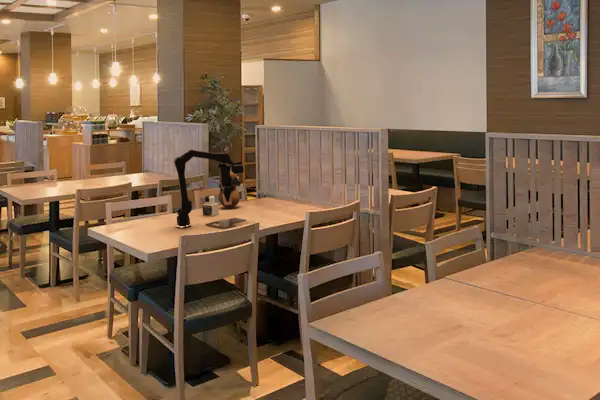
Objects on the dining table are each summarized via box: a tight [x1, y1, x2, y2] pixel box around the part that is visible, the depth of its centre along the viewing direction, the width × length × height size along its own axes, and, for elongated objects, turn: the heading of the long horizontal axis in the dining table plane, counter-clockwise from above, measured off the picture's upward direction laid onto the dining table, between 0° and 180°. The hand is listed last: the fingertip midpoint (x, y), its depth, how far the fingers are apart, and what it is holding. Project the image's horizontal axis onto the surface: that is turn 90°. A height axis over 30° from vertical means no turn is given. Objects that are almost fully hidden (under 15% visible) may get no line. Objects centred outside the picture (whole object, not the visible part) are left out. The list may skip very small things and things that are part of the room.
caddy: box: [205, 220, 237, 230], centre depth 338 cm, size 9×17×1 cm, turn 45°
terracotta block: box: [223, 194, 232, 205], centre depth 345 cm, size 4×4×6 cm
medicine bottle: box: [201, 195, 220, 217], centre depth 370 cm, size 7×7×12 cm
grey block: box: [218, 218, 229, 227], centre depth 336 cm, size 4×4×4 cm
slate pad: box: [227, 217, 247, 224], centre depth 350 cm, size 10×10×1 cm
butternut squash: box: [218, 169, 240, 209], centre depth 390 cm, size 14×13×25 cm
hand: (227, 201), depth 345 cm, fingers closed on terracotta block, 4 cm apart
